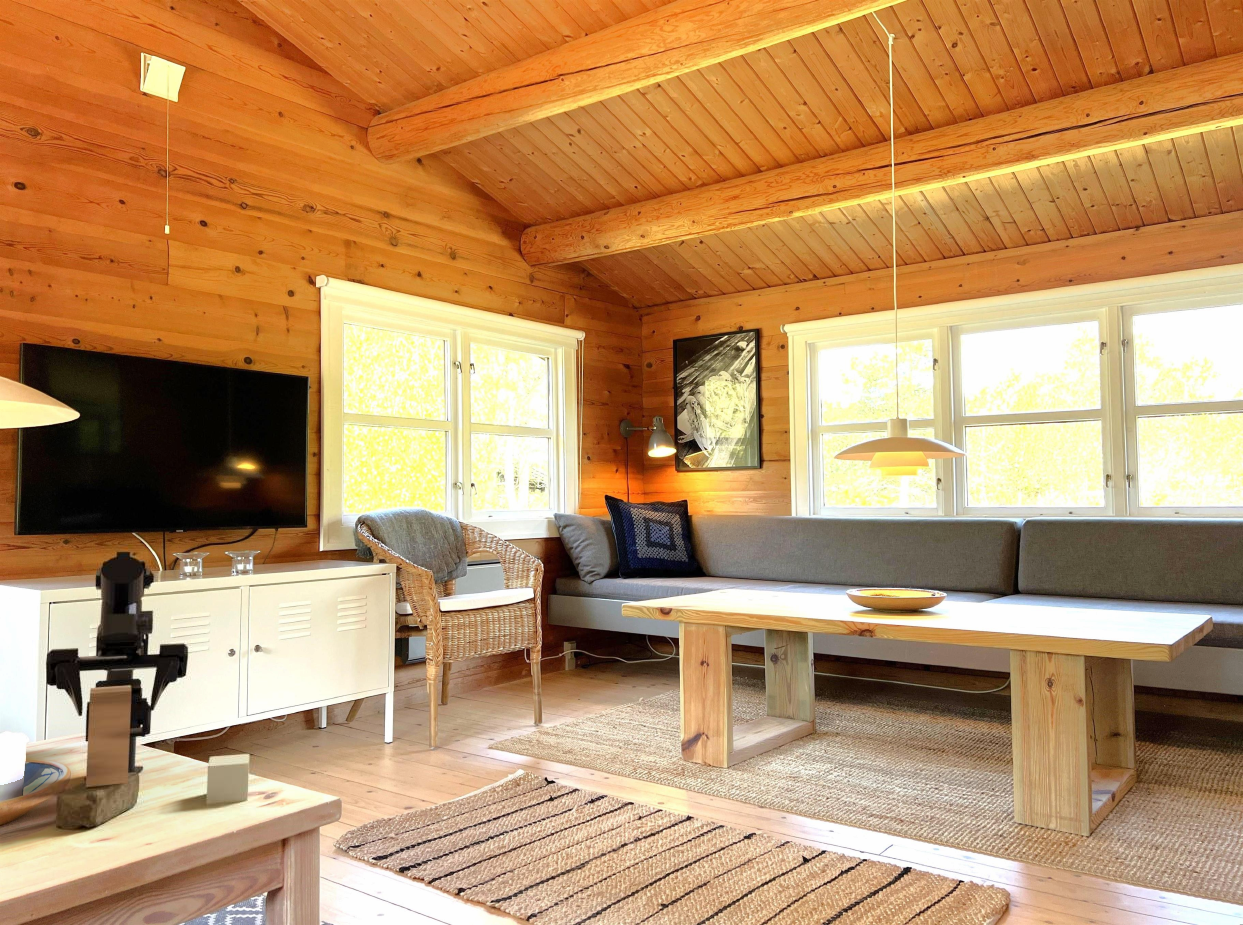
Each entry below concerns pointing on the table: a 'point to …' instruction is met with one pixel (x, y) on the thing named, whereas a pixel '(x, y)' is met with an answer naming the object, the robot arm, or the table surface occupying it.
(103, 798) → the stone block
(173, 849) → the table surface
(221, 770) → the sage cube
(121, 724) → the oak pillar
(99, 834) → the table surface
